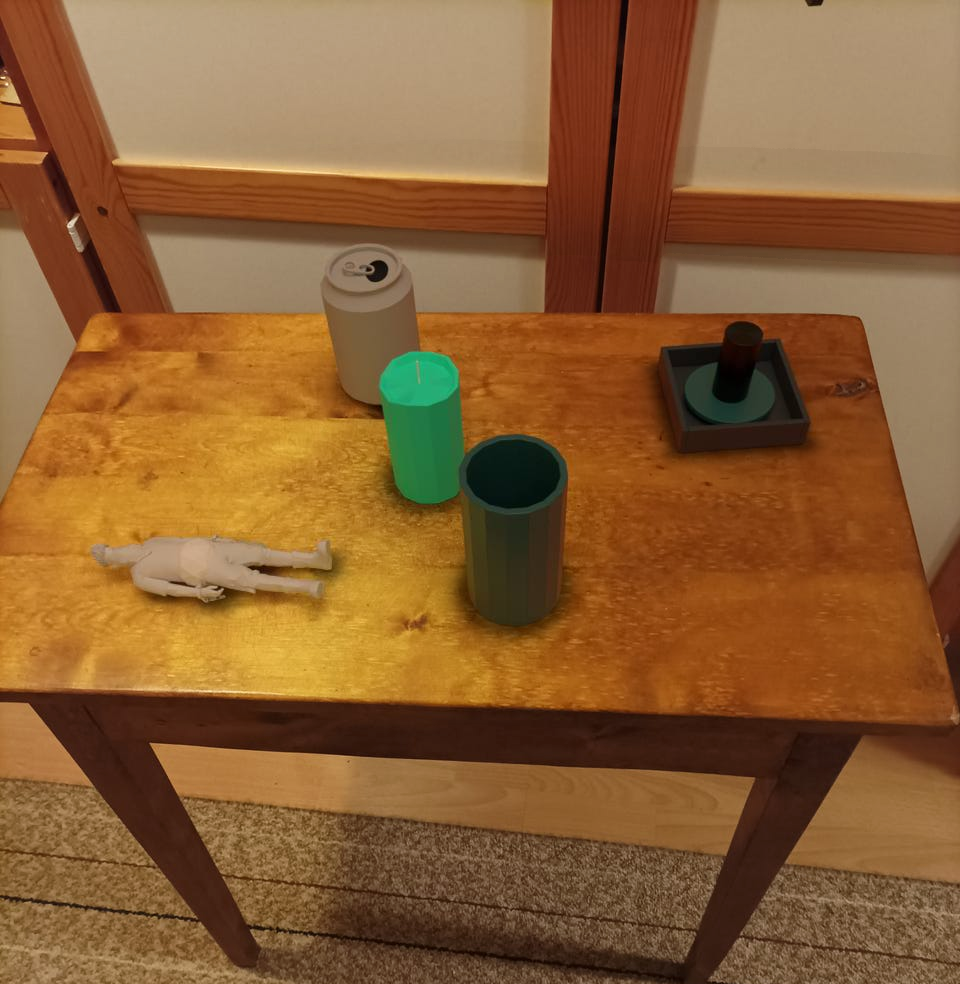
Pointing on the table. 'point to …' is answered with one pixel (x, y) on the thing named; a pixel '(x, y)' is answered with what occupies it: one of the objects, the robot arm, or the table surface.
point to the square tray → (697, 434)
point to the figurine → (212, 566)
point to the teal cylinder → (514, 527)
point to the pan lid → (732, 381)
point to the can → (368, 315)
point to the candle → (424, 425)
